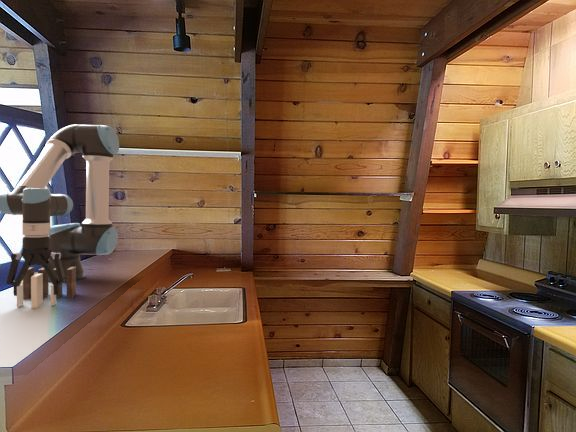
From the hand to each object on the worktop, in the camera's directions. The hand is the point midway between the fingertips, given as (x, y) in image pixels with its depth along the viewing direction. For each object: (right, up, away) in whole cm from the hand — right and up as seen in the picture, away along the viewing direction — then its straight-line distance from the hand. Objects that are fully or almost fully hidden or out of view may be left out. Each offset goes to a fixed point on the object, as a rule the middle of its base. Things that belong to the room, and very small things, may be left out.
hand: (36, 304), depth 125 cm
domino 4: (0, 0, +11) cm, 11 cm away
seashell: (-13, +1, +16) cm, 20 cm away
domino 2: (0, 0, 0) cm, 0 cm away
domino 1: (-9, +1, +9) cm, 13 cm away
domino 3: (-5, +1, +10) cm, 11 cm away
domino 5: (+4, 0, +12) cm, 13 cm away
